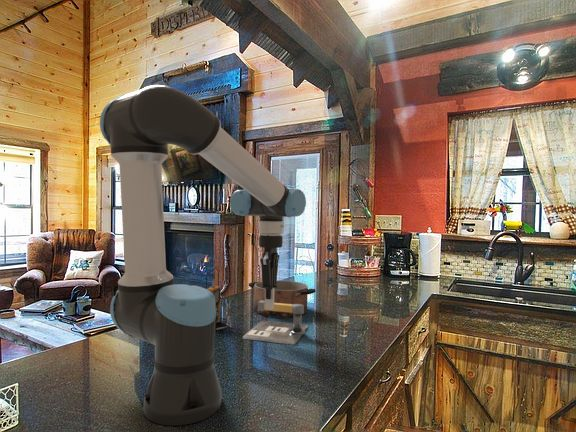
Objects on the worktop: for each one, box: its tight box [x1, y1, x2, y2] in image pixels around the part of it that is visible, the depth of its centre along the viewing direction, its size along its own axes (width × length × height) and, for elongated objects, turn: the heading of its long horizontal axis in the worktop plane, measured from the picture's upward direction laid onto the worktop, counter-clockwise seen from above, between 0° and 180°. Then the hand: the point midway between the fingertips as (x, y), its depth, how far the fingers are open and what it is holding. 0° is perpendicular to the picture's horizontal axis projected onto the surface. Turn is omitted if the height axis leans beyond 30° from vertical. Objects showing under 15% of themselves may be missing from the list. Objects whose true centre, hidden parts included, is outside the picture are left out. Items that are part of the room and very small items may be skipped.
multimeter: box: [205, 267, 233, 331], centre depth 128 cm, size 15×10×20 cm
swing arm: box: [258, 300, 304, 315], centre depth 121 cm, size 16×4×3 cm, turn 76°
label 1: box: [247, 330, 273, 338], centre depth 116 cm, size 5×7×1 cm
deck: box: [242, 314, 308, 346], centre depth 121 cm, size 19×18×7 cm
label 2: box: [265, 326, 289, 334], centre depth 121 cm, size 5×7×1 cm
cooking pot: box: [248, 280, 316, 318], centre depth 151 cm, size 30×22×11 cm
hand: (269, 308), depth 115 cm, fingers closed
